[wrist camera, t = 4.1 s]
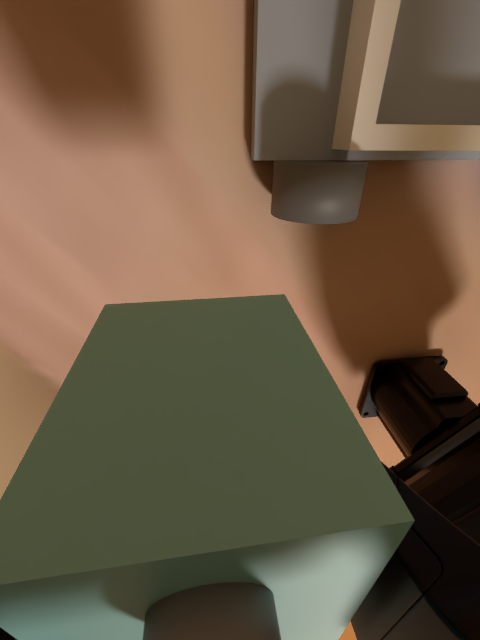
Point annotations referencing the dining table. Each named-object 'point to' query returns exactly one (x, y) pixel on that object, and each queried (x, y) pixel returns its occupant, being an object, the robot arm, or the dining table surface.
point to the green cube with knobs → (196, 486)
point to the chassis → (359, 94)
